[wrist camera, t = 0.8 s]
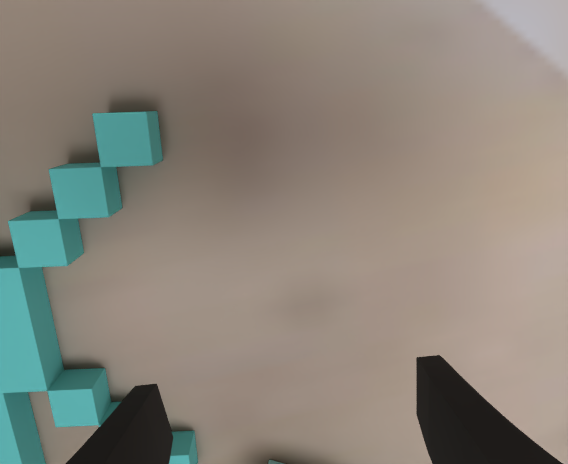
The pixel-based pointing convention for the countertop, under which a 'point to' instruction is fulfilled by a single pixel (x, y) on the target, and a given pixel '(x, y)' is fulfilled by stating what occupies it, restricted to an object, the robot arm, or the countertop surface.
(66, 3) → the countertop surface
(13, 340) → the alien figure
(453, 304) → the countertop surface
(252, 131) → the countertop surface
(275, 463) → the teal long bar
